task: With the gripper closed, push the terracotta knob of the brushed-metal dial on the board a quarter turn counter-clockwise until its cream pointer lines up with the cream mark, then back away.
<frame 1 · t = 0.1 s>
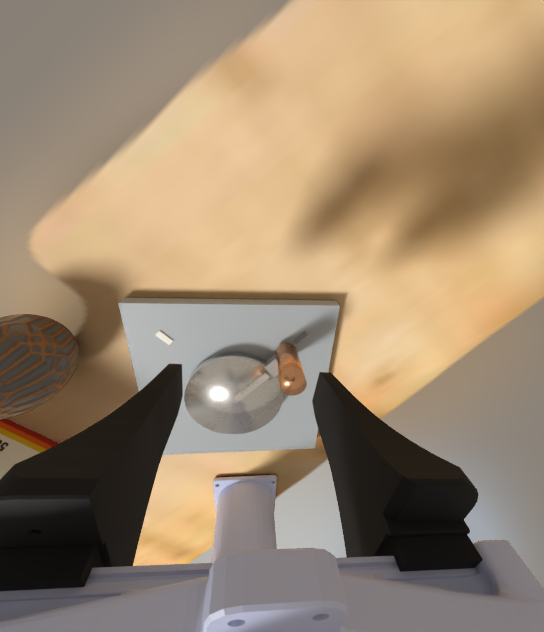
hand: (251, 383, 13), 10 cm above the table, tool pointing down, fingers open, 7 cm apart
board: (235, 381, 26), on the table
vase: (52, 337, 22), on the table
dial: (245, 400, 22), point 4 cm above the table, hinge at -45.0°
baking soda box: (11, 442, 27), on the table
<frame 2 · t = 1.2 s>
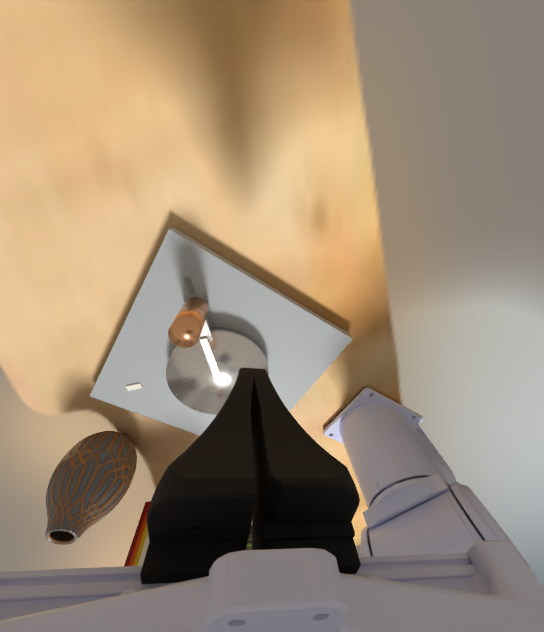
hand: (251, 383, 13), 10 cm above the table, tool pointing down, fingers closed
board: (221, 360, 25), on the table
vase: (113, 441, 29), on the table
dial: (211, 372, 21), point 4 cm above the table, hinge at -45.0°
baking soda box: (188, 507, 35), on the table
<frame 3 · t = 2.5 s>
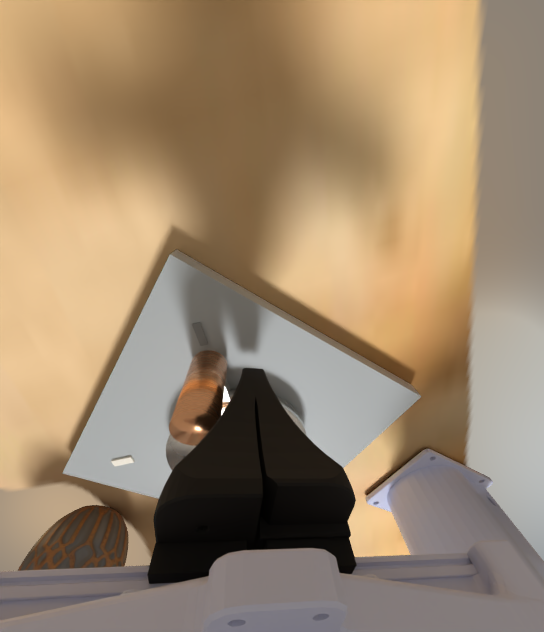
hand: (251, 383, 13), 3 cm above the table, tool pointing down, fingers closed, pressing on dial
board: (240, 421, 19), on the table
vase: (99, 515, 22), on the table
dial: (231, 455, 15), point 4 cm above the table, hinge at -45.0°, touching gripper
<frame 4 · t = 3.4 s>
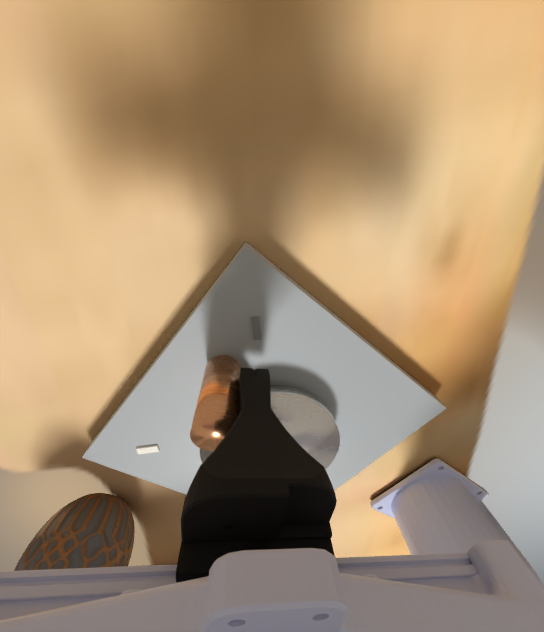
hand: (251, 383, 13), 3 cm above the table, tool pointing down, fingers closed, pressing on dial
board: (268, 418, 19), on the table
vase: (103, 504, 22), on the table
dial: (262, 454, 15), point 4 cm above the table, hinge at -25.9°, touching gripper
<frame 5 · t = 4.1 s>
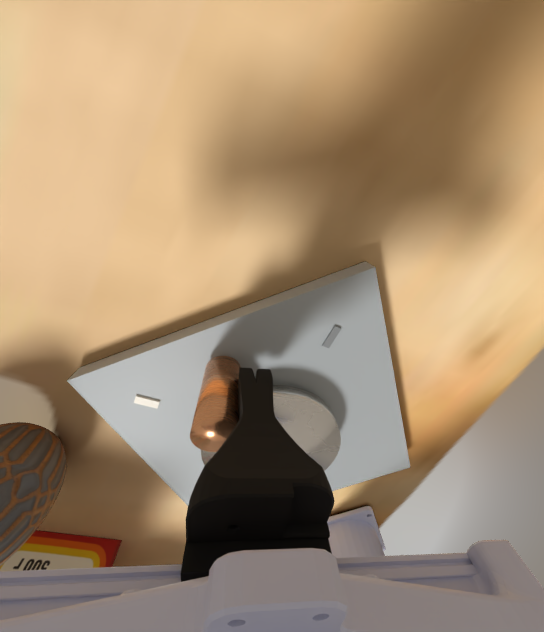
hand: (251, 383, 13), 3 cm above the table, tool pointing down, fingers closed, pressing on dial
board: (269, 418, 19), on the table
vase: (32, 439, 18), on the table
dial: (263, 453, 15), point 4 cm above the table, hinge at 4.6°, touching gripper
baking soda box: (63, 548, 24), on the table
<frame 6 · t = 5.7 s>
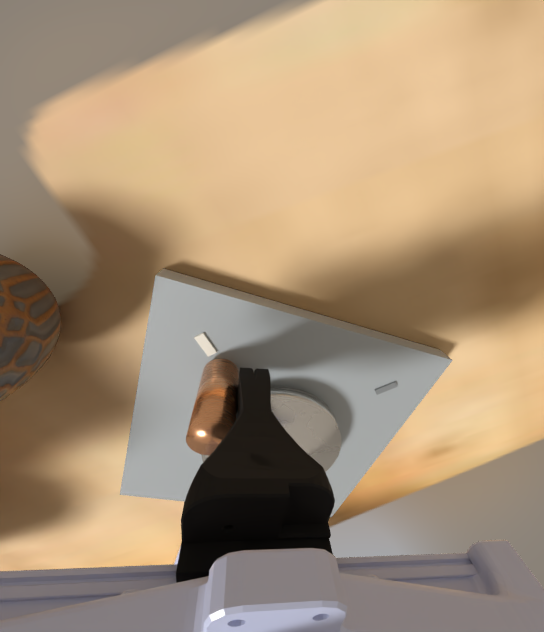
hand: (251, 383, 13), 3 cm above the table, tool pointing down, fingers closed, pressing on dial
board: (269, 419, 19), on the table
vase: (16, 297, 14), on the table
dial: (263, 455, 15), point 4 cm above the table, hinge at 45.5°, touching gripper
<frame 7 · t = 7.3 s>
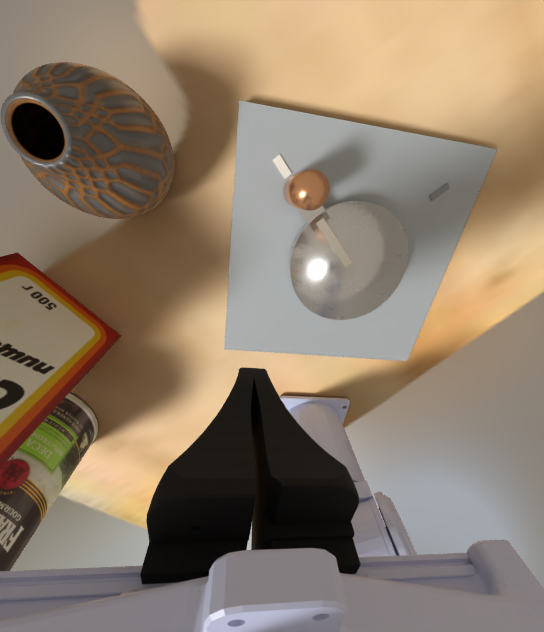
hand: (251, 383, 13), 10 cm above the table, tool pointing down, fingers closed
board: (338, 258, 21), on the table
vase: (133, 160, 18), on the table
dial: (344, 254, 18), point 4 cm above the table, hinge at 45.7°
baking soda box: (51, 319, 22), on the table
coffee can: (46, 418, 27), on the table
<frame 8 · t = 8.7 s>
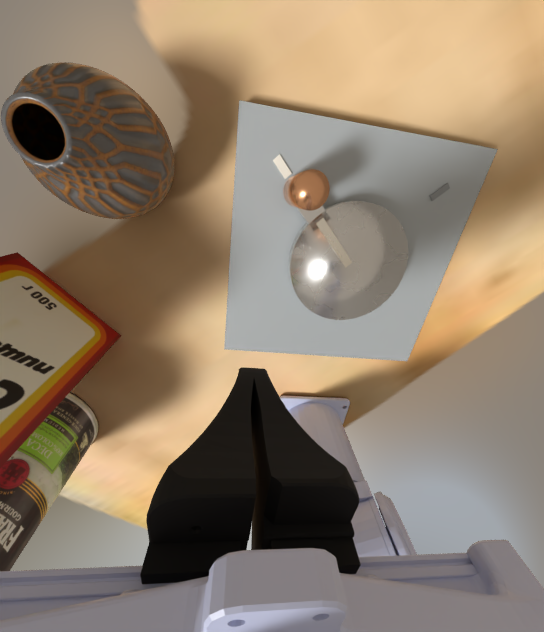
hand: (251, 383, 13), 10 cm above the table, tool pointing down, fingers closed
board: (338, 258, 21), on the table
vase: (134, 160, 18), on the table
dial: (344, 254, 18), point 4 cm above the table, hinge at 45.7°
baking soda box: (51, 318, 22), on the table
coffee can: (46, 418, 27), on the table
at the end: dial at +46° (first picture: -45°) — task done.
